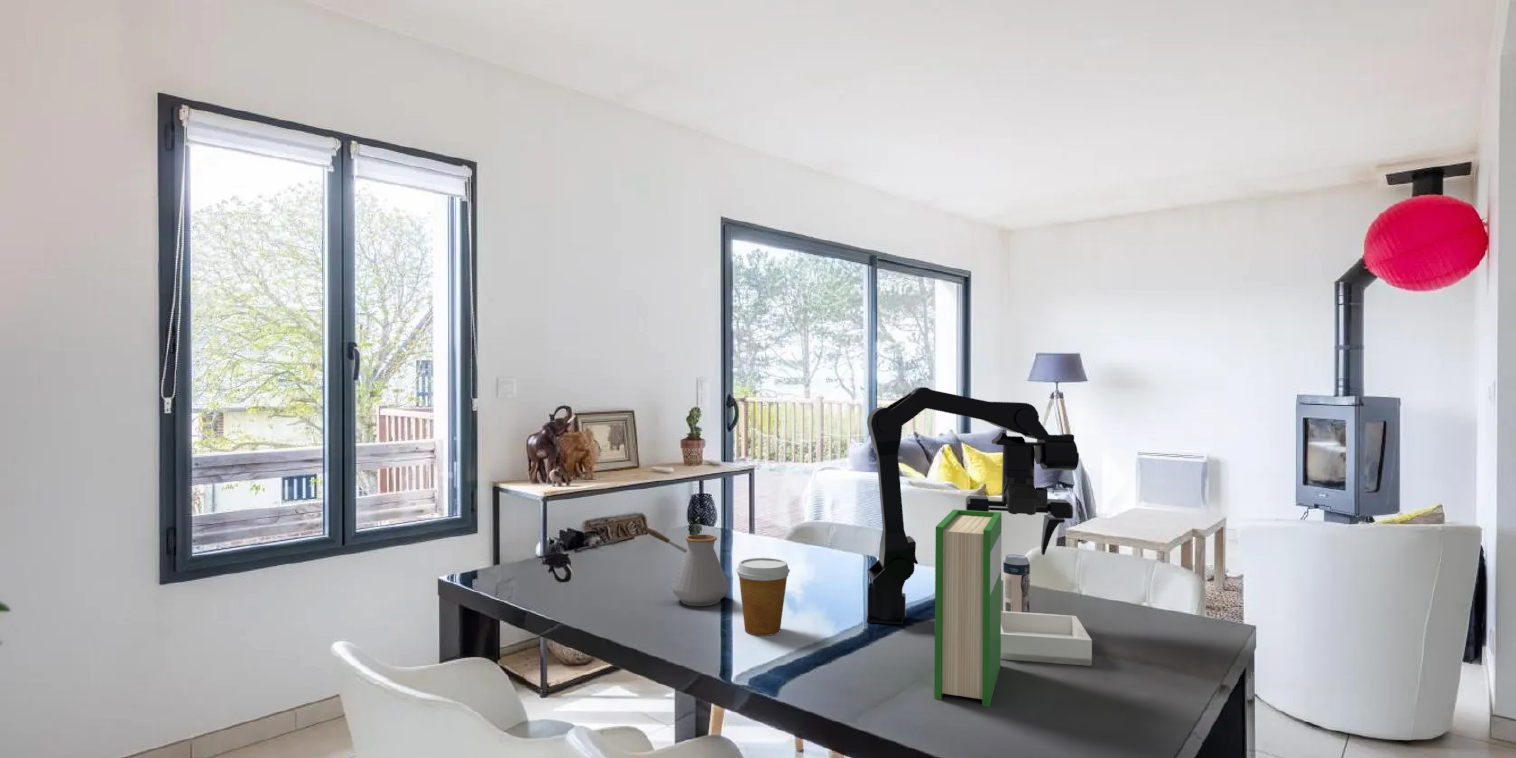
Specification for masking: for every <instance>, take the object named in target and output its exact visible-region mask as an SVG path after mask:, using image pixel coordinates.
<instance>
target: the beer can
mask: <svg viewBox="0 0 1516 758" xmlns="http://www.w3.org/2000/svg"><path fill="white" fill-rule="evenodd" d="M1002 562H1003V563H1002V564H1003V565H1002V567H1003V574H1002V579H1003V581H1002V583H1003V584H1002V585H1003V586H1002V590H1003V591H1002V592H1003V593H1002V611H1008V612H1024V613H1030V598H1031V597H1030V590H1031V589H1030V584H1031V581H1030V579H1031V578H1030V576H1031V575H1030V574H1031V572H1030V571H1031V570H1030V569H1031V568H1030V567H1031V565H1030V564H1031V563H1030V562H1031V561H1029V559H1028V556H1025V555H1022V554H1006V555H1005V557H1004V558H1003V561H1002Z"/></svg>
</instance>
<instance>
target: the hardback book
mask: <svg viewBox="0 0 1516 758" xmlns="http://www.w3.org/2000/svg"><path fill="white" fill-rule="evenodd" d="M1002 512H1003V511H989V512H987V511H971V510H966V509H954V508H953V509H952V510H951V511H950V512H949V513H948V514H947V515H945V517H944V518H943V519H942V520H941V521H939V523H938V524H936V526H935V547H934V548H935V562H934V564H935V567H934V568H935V569H934V571H935V572H934V573H935V577H934V579H935V582H934V583H935V584H934V591H935V592H934V683H933V684H934V687H933V689H934V691H933V692H934V696H933V697H934V698H933V699H934V700H935V699H936V700H939V701H940V700H942V699H943V696H944V694H945V695H952V696H958V697H959V696H960V697H965V698H972V699H978V700H981V706H982V707H987V708H989V707H990V706H991V701H992V697H993V694H994V690H995V687H996V684H997V680H998V676H999V673H1000V670H1001V666H1002V665H1001V662H1002V661H1001V660H1002V659H1001V611H1002V523H1003V522H1002V517H1003V516H1002V514H1003V513H1002Z"/></svg>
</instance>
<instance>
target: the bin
mask: <svg viewBox="0 0 1516 758" xmlns="http://www.w3.org/2000/svg"><path fill="white" fill-rule="evenodd" d="M1092 647H1093V639H1092V638H1091V637H1090V635H1089V633H1088V632H1087V630H1086V629H1085V627H1084V626H1083V625H1082V623H1081V621H1080V620H1079V619H1078V617H1077V616H1076V615H1070V614H1067V615H1066V614H1054V613H1053V614H1052V613H1040V612H1039V613H1038V612H1037V613H1036V612H1029V613H1024V612H1008V611H1003V610H1001V660H1008V661H1019V662H1020V661H1021V662H1035V663H1036V662H1037V663H1049V664H1051V663H1052V664H1062V665H1076V666H1089V667H1091V666H1092V665H1093V655H1092V654H1093V648H1092Z"/></svg>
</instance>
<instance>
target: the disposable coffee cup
mask: <svg viewBox="0 0 1516 758" xmlns="http://www.w3.org/2000/svg"><path fill="white" fill-rule="evenodd" d="M737 566H738V567H736V571H735V572H736V573H737V576H738V578H739V579H738V580H739V589H740V597H741V598H740V599H741V607H742V617H743V624H744V631H745V633H747V632H748V633H747V634H749V635H753V634H755V636H762V635H764V636H772V635H775V634H778V633H780V632H781V625H782V616H783V609H784V603H785V595H786V587H787V580H788V579H787V578H788V577H789V573H790V571H791V569H790V568H789V565H788V562H787V561H785V560H783V559H779V558H773V557H772V558H771V557H752V558H751V557H750V558H745V559H742V560H739V562H738V565H737ZM779 631H780V632H779Z"/></svg>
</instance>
